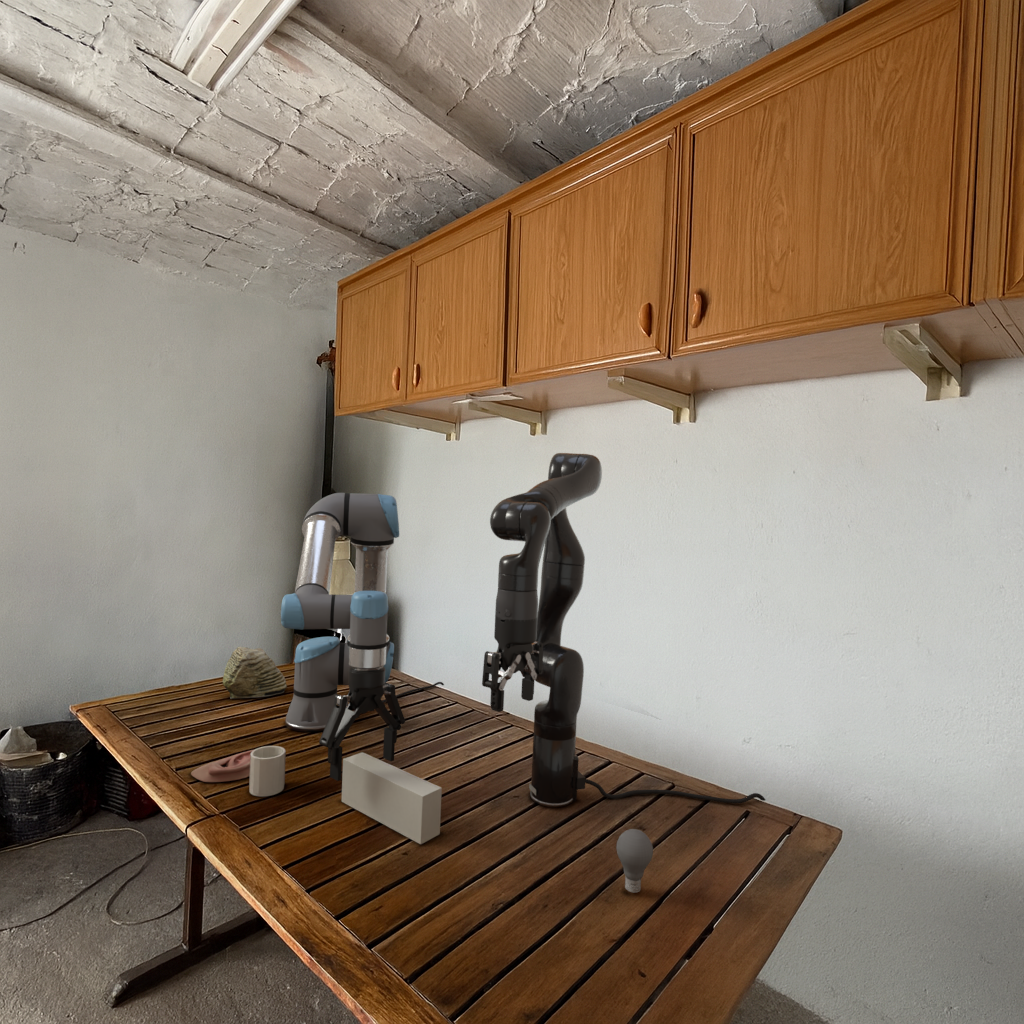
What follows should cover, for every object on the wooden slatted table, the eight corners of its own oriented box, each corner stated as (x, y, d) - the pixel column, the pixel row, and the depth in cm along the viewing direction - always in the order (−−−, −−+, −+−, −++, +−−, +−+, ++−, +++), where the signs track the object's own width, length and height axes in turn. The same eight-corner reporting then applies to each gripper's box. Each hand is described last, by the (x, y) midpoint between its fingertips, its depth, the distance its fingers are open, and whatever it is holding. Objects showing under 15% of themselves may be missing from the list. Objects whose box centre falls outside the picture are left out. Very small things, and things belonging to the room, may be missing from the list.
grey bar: (341, 801, 132) (343, 758, 132) (360, 793, 136) (362, 752, 136) (420, 844, 117) (422, 796, 117) (439, 834, 121) (441, 787, 121)
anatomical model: (182, 760, 139) (216, 741, 150) (181, 778, 139) (216, 758, 150) (236, 768, 136) (267, 748, 147) (235, 786, 136) (266, 765, 147)
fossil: (218, 695, 195) (220, 647, 195) (278, 685, 208) (279, 640, 207) (228, 703, 189) (230, 653, 188) (289, 692, 201) (290, 645, 201)
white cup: (272, 778, 141) (274, 743, 141) (290, 788, 137) (291, 752, 137) (242, 789, 136) (244, 752, 136) (260, 799, 131) (261, 761, 131)
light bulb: (610, 879, 108) (613, 822, 108) (644, 879, 109) (647, 822, 109) (619, 902, 102) (622, 840, 102) (655, 901, 103) (658, 840, 103)
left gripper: (400, 654, 143) (397, 747, 143) (303, 673, 124) (299, 781, 124) (423, 660, 139) (419, 756, 139) (326, 681, 119) (322, 793, 119)
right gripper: (524, 607, 120) (520, 692, 120) (473, 615, 109) (469, 709, 109) (556, 612, 115) (552, 701, 116) (507, 622, 104) (503, 720, 104)
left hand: (363, 768), depth 131 cm, fingers open, 13 cm apart
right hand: (512, 705), depth 112 cm, fingers open, 8 cm apart
